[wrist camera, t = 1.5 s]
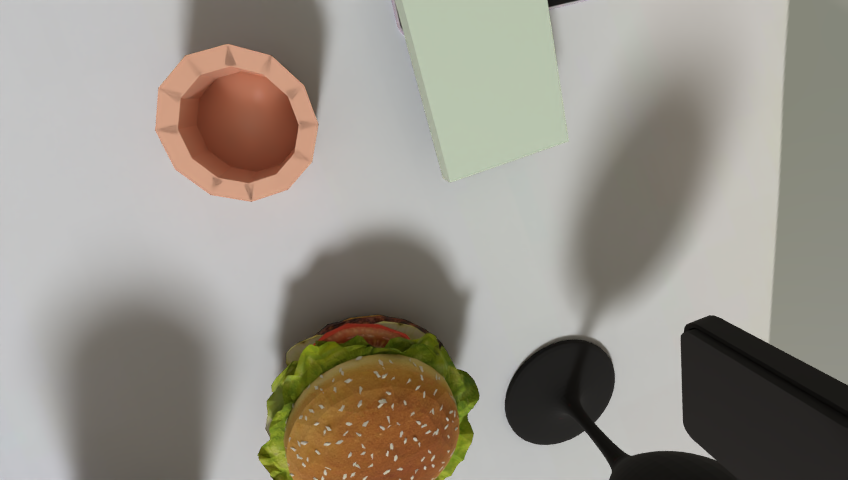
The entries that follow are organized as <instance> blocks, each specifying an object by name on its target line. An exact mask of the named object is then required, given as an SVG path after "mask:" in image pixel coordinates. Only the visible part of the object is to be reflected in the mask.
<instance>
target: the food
mask: <svg viewBox="0 0 848 480" xmlns="http://www.w3.org/2000/svg"><path fill="white" fill-rule="evenodd" d="M286 364H287V366H288V367H287V368H286V369H285V370H284V371H283V372H282V373H281V374H280V375H279V376H278V377H277V378H276V379H275V381H274V382H273V384H272V385H271V387H272V392H273V394H272V395H271V396H270V398H269V399H268V400H267V410H268V414H267V415H268V416H267V422H266V428H265V429H266V431H267V433H268V435H269V436H270V440H269V441H268V442H267V443H266V444H264V445H263V446H262V447H261V449H260V451H259V453H258V456H259V460H260V461H261V463H262V464H263V466H264V467H265V468H266V469H267V471H268V472H269V473H270V476H271V477H272V478H273V480H444V479H445V478H446V477H449V476H451V475H452V473H453V472H454V470H455V468H456V466H457V465H458V464H459V463H460V462H461V461H463V460H464V457H465V455H466V452H467V450H468V448H469V446H470V444H471V443H472V439H473V434H474V433H473V430H472V428H471V425H470V423H469V422H468V417H467V416H468V413H469V411H470V410H471V409H473V407H474V405H475V404H476V403H477V401H478V400H479V392H478V388H477V386H476V383H475V381H474V380H473V378H472V377H471V376H470V375H469V374H468V373H467V372H465V371H462V370H459V369H456V367H455V366H454V364H453V362H452V360H451V358H450V357H449V355H448V353H447V351H446V350H445V348H444V346H443V344H442V343H441V342H440V341H439V340H438V339H436V336H435V335H433V334H431V333H429V332H428V331H427V330H425V329H423V328H421V327H419V326H417V325H415V324H413V323H411V322H409V321H407V320H404V319H398V318H392V317H386V316H382V315H373V316H363V317H354V318H349V319H346V320H343V321H341V322H337V323H333V324H328V325H327V326H326V327H324V328H323V329H322V330H321V331H320V332H318V333H317V334H316V335H315V336H313V337H311V338H308V339H306V340H304V341H301V342H299V343H297V344H296V345H294V346H293V347H291V348H290V349H289V351H288V352H287V353H286Z"/></svg>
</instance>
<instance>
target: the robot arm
mask: <svg viewBox="0 0 848 480" xmlns="http://www.w3.org/2000/svg"><path fill="white" fill-rule="evenodd" d="M681 367H682V403H683V424H684V427H685V429H686V431H687V433H688V434H689V435H690V437H691V438H692V439H693V440H694V441H695V442H696V443H698V444H699V445H700V446H701V447H702V448H703V449H704V450H706V451H707V452H708V453H709V454H710V455H711V456H712V457H713V458H715V459H716V460H717V461H718V462H719V463H720V464H721V465H722V466H724V467H725V468H726V469H727V470H728V471H729V472H730V473H732V474H733V475H734V476H735V477H736V478H737V479H738V480H848V385H846V384H844V383H842V382H840V381H838V380H837V379H834V378H833V377H831V376H829V375H827V374H825V373H823V372H821V371H819V370H817V369H816V368H814V367H812V366H810V365H808V364H806V363H804V362H802V361H801V360H799V359H796V358H795V357H793V356H791V355H789V354H787V353H785V352H784V351H782V350H779V349H778V348H776V347H774V346H772V345H770V344H768V343H766V342H765V341H763V340H761V339H759V338H757V337H755V336H753V335H751V334H749V333H748V332H746V331H744V330H742V329H740V328H738V327H736V326H734V325H732V324H730V323H729V322H727V321H725V320H723V319H721V318H719V317H716V316H711V315H709V316H707V317H704V318H702V319H699V320H697V321H694V322H691V323H689V324H687V325H686V326H685V328H684V333H683V334H682V335H681Z"/></svg>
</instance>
